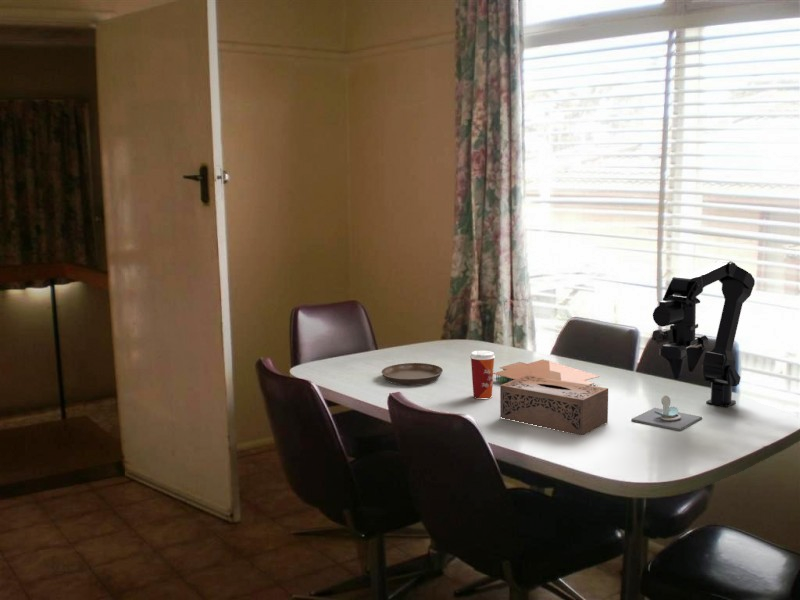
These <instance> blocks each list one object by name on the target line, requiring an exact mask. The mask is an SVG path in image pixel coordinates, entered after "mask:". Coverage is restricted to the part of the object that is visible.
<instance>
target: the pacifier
mask: <svg viewBox="0 0 800 600" xmlns="http://www.w3.org/2000/svg"><path fill="white" fill-rule="evenodd" d="M660 402H661V405H662V409H663V412H662V413H659V412H656V411H654V413H656V414H658V415H661V419H663V420H667V421H673V420H678V419H680V418H681V416H680V415H678V412H679V409H678V408H677V407H675V406H671V398H670V397H669V396H668V395H667V394H666V395H663V396H662V398H661V401H660ZM669 411H670V412H669ZM673 416H675V418H672V417H673Z"/></svg>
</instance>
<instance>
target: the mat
mask: <svg viewBox="0 0 800 600" xmlns="http://www.w3.org/2000/svg"><path fill="white" fill-rule="evenodd" d="M654 411H656V412H659V413H662V412H663V408H659V407H652V408H651V409H650V410H647V411H645V412H643V413H641V414H638V415H636V416H634V417H632V418H631V422H634V423H635V422H636V423H639V424H645V425H650V426H653V425H654V426H653V427H658V426H659V428H663V427H664V428H663V429H668V428H669V429H668V430H674V431H678V430H680V431H682V430H684V429H686V428H687V426H688V427H689V425H690V426H691V425H693V424H695V423H697V422H699V421H700V420H702V419H703V418H702V416H701V415H695V414H691V413H685V412H680V411H678V415H680V416H681V418H680V419H678V420H673V421H667V420H663V419H661V415H658V414H656V413H654ZM669 412H670V411H669ZM672 418H675V416H673V417H672ZM698 420H699V421H698ZM696 421H697V422H696ZM685 427H686V428H685ZM683 428H684V429H683ZM681 429H682V430H681Z"/></svg>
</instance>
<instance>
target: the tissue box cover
mask: <svg viewBox="0 0 800 600" xmlns="http://www.w3.org/2000/svg"><path fill="white" fill-rule="evenodd" d="M509 381H510V380H509ZM509 381H507V382H506V383H505V382H504V383H501V384H500V386H499V387H500V390H499V392H500V393H499V395H500V399H499V400H500V401H499V402H500V403H499V404H500V405H499V407H500V409H499V410H500V411H499V413H500V417H502V418H505V419H510V420H515V421H519V422H524V423H528V424H533V425H537V426H536V427H538V426H542V427H541V428H543V427H547V428H551V429H550V430H552V429H555V430H554V431H557V430H559V431H558V432H562V431H564V432H563V433H567V432H568V433H567V434H571V433H572V434H573V435H577V436H582V437H583V436H585V435H587V434H589V433H590V432H592V431H594V430H596V429H598V428H601V427H602V426H604V425H605V423H606V424H607V423H608V422H609V421H608V420H609V419H608V417H609V388H608V387H603V386H602V387H601V386H595V385H592V384H591V385H585V384H579V383H573V382H567V381H561V380H555V379H549V378H543V377H537V376H531V375H526V376H523V377H521V378H518V379H515V380H514V379H513V381H512V380H511V381H510V382H509ZM528 424H527V425H528ZM533 425H532V426H533ZM547 428H546V429H547Z"/></svg>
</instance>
